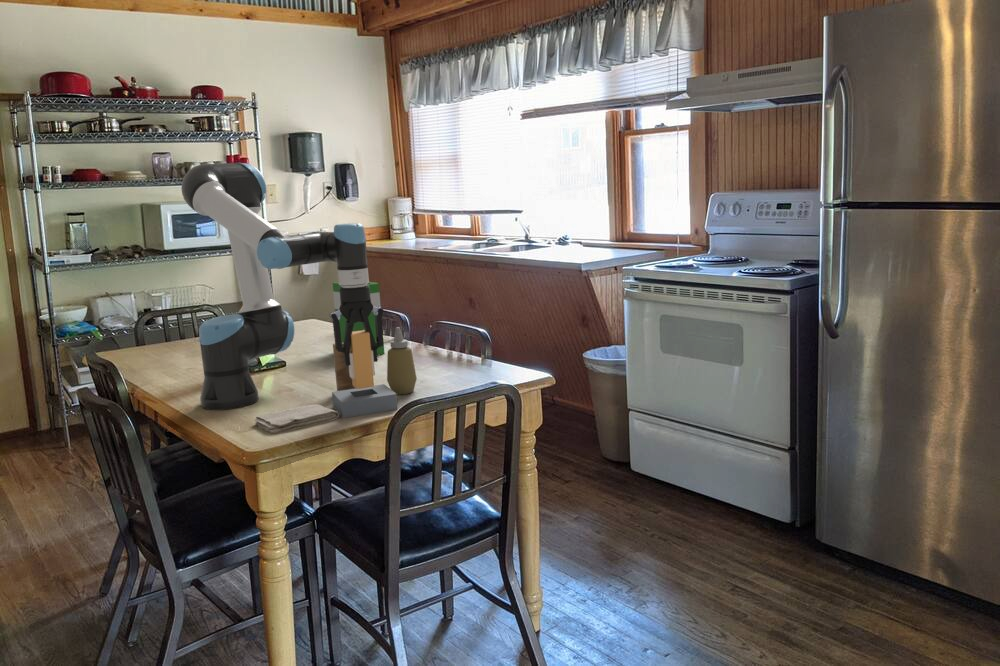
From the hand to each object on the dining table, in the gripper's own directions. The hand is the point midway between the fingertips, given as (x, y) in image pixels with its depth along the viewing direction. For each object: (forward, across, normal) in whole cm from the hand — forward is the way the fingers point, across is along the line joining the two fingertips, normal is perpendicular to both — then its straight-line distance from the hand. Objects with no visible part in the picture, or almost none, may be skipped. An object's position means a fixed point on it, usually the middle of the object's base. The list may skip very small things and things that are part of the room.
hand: (362, 375), depth 215 cm
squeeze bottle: (+9, +13, +10) cm, 19 cm away
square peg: (+3, 0, 0) cm, 3 cm away
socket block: (+8, 0, 0) cm, 8 cm away
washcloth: (+9, -18, -2) cm, 20 cm away
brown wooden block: (+8, 0, +19) cm, 21 cm away
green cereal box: (+9, +16, +71) cm, 73 cm away
